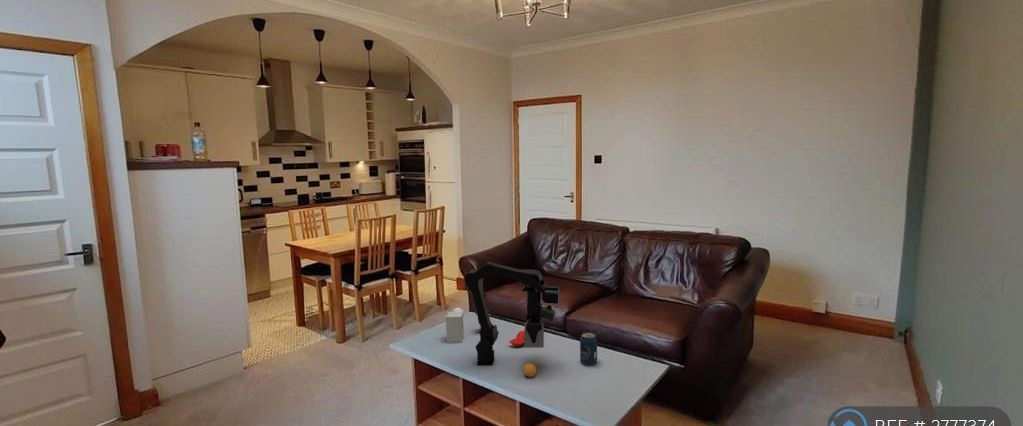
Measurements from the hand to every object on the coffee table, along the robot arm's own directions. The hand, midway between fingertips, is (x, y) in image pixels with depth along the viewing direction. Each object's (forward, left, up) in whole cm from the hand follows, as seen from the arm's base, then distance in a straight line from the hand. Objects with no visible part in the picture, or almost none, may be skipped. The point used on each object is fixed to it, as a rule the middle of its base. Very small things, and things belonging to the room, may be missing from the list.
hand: (533, 338), depth 196 cm
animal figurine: (-5, +22, -12) cm, 26 cm away
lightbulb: (-39, +39, -12) cm, 56 cm away
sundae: (-26, +35, -12) cm, 45 cm away
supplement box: (-38, +26, -12) cm, 47 cm away
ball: (-2, -9, -9) cm, 13 cm away
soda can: (+22, +3, -12) cm, 26 cm away
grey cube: (0, 0, -2) cm, 2 cm away
